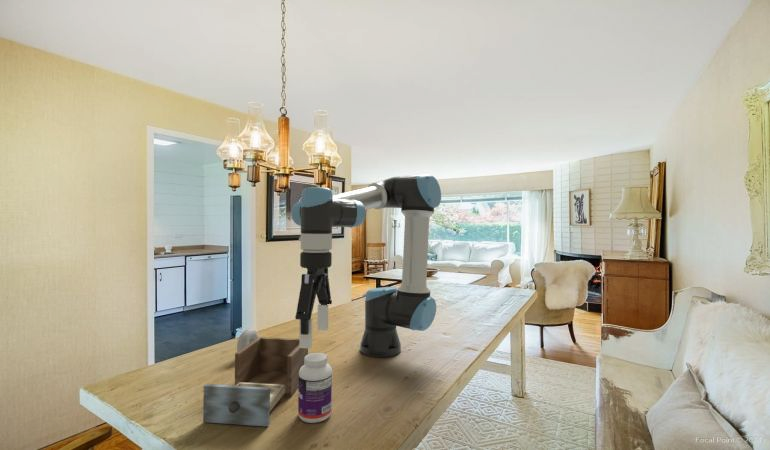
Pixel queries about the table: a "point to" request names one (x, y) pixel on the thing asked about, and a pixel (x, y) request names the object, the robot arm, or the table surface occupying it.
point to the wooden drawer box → (271, 363)
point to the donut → (246, 338)
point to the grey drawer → (241, 403)
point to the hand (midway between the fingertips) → (314, 338)
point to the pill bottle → (315, 389)
